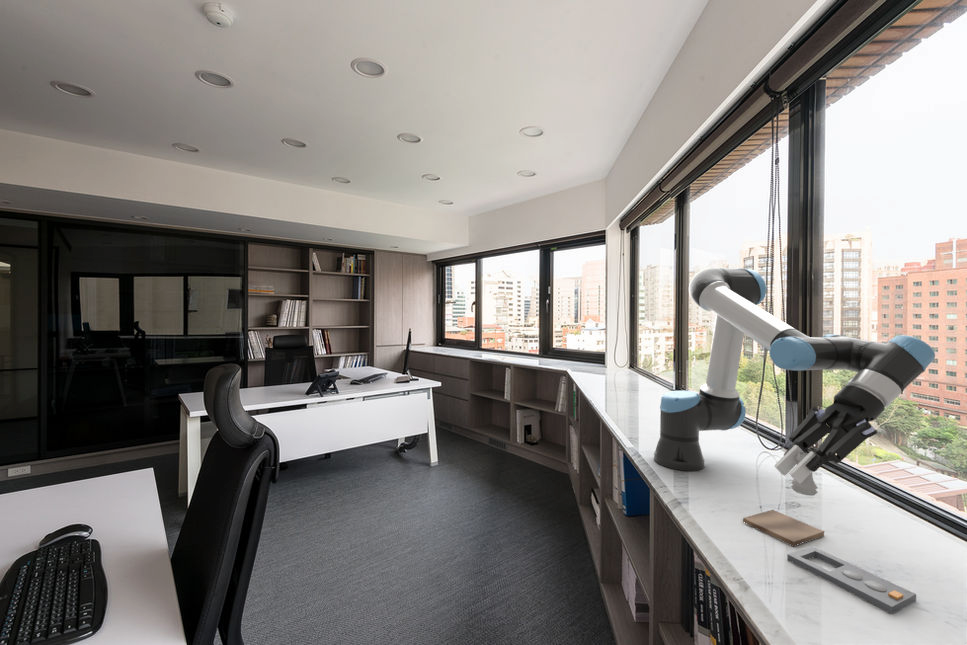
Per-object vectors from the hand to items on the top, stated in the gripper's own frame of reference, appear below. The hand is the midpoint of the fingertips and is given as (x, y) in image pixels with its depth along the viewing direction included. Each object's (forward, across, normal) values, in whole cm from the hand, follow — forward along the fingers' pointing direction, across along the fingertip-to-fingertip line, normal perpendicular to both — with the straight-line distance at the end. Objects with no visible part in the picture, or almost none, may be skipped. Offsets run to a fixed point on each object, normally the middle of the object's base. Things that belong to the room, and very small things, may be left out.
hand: (786, 474), depth 86 cm
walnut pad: (+7, +7, -15) cm, 18 cm away
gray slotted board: (+8, -10, -14) cm, 19 cm away
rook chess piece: (0, 0, -6) cm, 6 cm away
